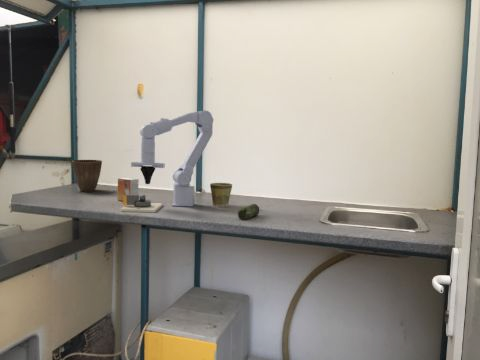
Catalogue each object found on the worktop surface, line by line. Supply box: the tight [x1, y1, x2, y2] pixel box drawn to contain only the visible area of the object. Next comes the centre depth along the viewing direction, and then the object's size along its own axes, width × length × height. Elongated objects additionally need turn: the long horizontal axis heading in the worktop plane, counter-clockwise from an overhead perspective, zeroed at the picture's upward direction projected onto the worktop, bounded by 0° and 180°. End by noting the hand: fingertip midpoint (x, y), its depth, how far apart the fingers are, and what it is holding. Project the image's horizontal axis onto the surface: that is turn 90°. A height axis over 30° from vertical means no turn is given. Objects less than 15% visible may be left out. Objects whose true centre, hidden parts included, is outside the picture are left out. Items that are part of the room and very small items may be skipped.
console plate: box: [120, 202, 163, 213], centre depth 173 cm, size 14×16×1 cm
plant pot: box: [71, 159, 103, 193], centre depth 215 cm, size 15×15×16 cm
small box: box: [117, 177, 140, 202], centre depth 189 cm, size 8×6×10 cm
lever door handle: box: [122, 194, 152, 207], centre depth 172 cm, size 12×7×4 cm, turn 101°
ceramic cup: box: [209, 182, 233, 208], centre depth 186 cm, size 13×10×10 cm
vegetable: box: [237, 203, 260, 220], centre depth 162 cm, size 14×5×5 cm, turn 153°
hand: (147, 183), depth 177 cm, fingers closed
